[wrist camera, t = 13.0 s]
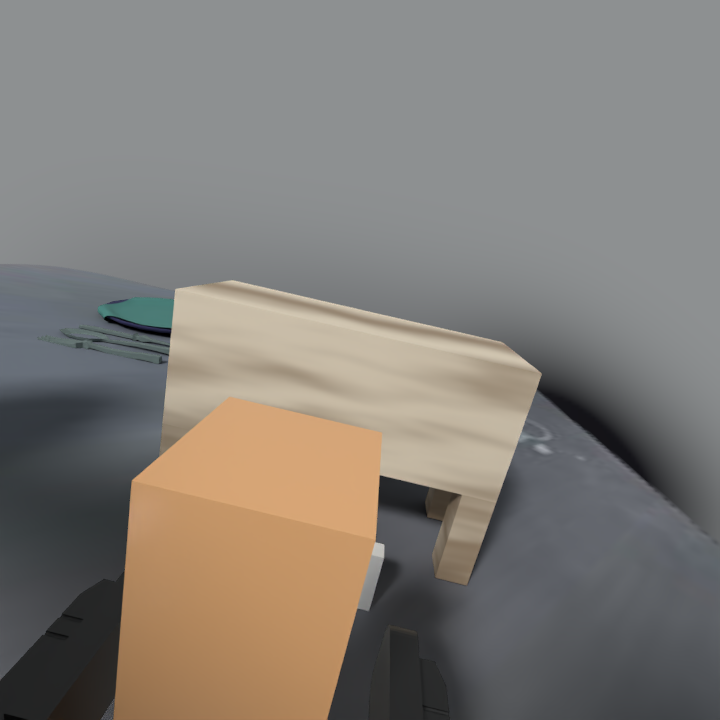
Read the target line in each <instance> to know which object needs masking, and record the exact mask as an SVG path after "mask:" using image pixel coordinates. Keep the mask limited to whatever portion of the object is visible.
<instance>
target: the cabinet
mask: <svg viewBox="0 0 720 720" xmlns="http://www.w3.org/2000/svg"><path fill="white" fill-rule="evenodd" d="M541 375H542V373H540V372H539V371H538V370H537V369H535V368H534V367H533V366H532V365H530V364H529V363H528V362H526V361H525V360H524V359H523V358H521V357H520V356H519V355H518V354H516V353H515V352H514V351H512V350H511V349H510V348H509V347H508V346H506V345H505V344H504V343H503V342H499V341H495V340H490V339H486V338H481V337H477V336H473V335H468V334H464V333H460V332H455V331H451V330H447V329H442V328H438V327H434V326H429V325H425V324H421V323H416V322H412V321H408V320H403V319H399V318H394V317H390V316H386V315H381V314H377V313H373V312H368V311H364V310H360V309H355V308H351V307H346V306H342V305H338V304H333V303H329V302H324V301H320V300H316V299H312V298H307V297H303V296H299V295H294V294H289V293H286V292H281V291H277V290H273V289H268V288H264V287H260V286H255V285H251V284H247V283H242V282H238V281H234V280H231V281H224V282H219V283H212V284H206V285H198V286H192V287H186V288H179V289H176V290H175V299H174V310H173V320H172V330H171V341H170V351H169V362H168V372H167V383H166V393H165V403H164V414H163V424H162V435H161V445H160V456H161V455H162V454H163V453H165V452H166V451H167V450H168V449H169V448H170V447H172V446H173V445H174V444H175V443H176V442H177V441H178V440H180V439H181V438H182V437H183V436H184V435H185V434H187V433H188V432H189V431H190V430H191V429H192V428H194V427H195V426H196V425H197V424H198V423H199V422H201V421H202V420H203V419H204V418H205V417H206V416H207V415H209V414H210V413H211V412H212V411H213V410H214V409H216V408H217V407H218V406H219V405H220V404H221V403H223V402H224V401H225V400H226V399H227V398H228V397H233V398H238V399H242V400H246V401H250V402H255V403H259V404H263V405H267V406H272V407H276V408H280V409H284V410H288V411H293V412H297V413H301V414H305V415H310V416H314V417H318V418H322V419H327V420H331V421H335V422H339V423H343V424H348V425H352V426H356V427H360V428H365V429H369V430H373V431H377V432H382V444H381V461H380V475H381V476H386V477H390V478H394V479H398V480H402V481H407V482H411V483H415V484H419V485H423V486H428V487H429V491H428V494H427V497H426V501H425V504H426V512H427V517H428V518H433V519H437V520H441V521H443V522H442V525H441V528H440V531H439V535H438V538H437V541H436V544H435V547H434V550H433V553H432V558H433V565H434V573H435V578H438V579H442V580H446V581H450V582H454V583H458V584H463V585H467V584H468V581H469V578H470V575H471V572H472V570H473V567H474V564H475V561H476V558H477V555H478V553H479V550H480V547H481V544H482V541H483V538H484V536H485V533H486V530H487V527H488V524H489V522H490V519H491V516H492V513H493V510H494V507H495V505H496V502H497V499H498V496H499V493H500V491H501V488H502V485H503V482H504V479H505V476H506V474H507V471H508V468H509V465H510V462H511V459H512V457H513V454H514V451H515V448H516V445H517V443H518V440H519V437H520V434H521V431H522V428H523V426H524V423H525V420H526V417H527V414H528V411H529V409H530V406H531V403H532V400H533V397H534V395H535V392H536V389H537V386H538V383H539V380H540V378H541ZM160 456H159V457H160Z"/></svg>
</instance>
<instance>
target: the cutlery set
mask: <svg viewBox="0 0 720 720" xmlns="http://www.w3.org/2000/svg"><path fill="white" fill-rule="evenodd" d="M173 310H174V300H172V299H163V298H149V297H146V298H140V297H134V298H132V299H127V300H120V301H113V302H110V303H107V304H104V305H101V306H99V307H98V312H99V314H100V315H101V316H102V317H103V318H104V320H106V321H109V320H114V321H116V322H119V323H121V324H123V325H127V326H130V327H134V328H138V329H142V330H148V331H154V332H160V333H171V330H172V320H173ZM105 316H106V317H105ZM107 317H108V318H107ZM79 328H83V329H87V330H83V329H69V328H65V329H61V330H60V331H61V332H63V333H64V334H65V335H66V336H68V337H70V338H74V339H77V340H74V339H64V338H56V337H52V336H48V335H46V336H45V337H44V336H42V337H41V338H40V337H38V338H37V339H39V340H43V341H47V342H52V343H56V344H60V345H64V346H68V347H72V348H85V349H89V348H92V349H96V350H99V351H102V352H105V353H109V354H114V355H118V356H123V357H127V358H133V359H140V360H145V361H149V362H153V363H156V364H159V363H161V362H162V356H160V355H153V354H147V353H140V352H130V351H123V350H117V349H112V348H109V347H105V346H102V345H98V344H93V342H100V341H103V342H109V343H117V344H123V345H128V346H136V347H141V348H145V349H150V350H154V351H159V352H162V353H166V354H169V351H170V348H168V347H162V346H156V345H150V344H144V343H137V342H127V341H120V340H109V338H108V337H107V336H106V335H104V334H102V333H106V334H111V335H116V336H121V337H125V338H130V339H133V341H135V340H139V341H141V342H155V343H159V344H164V345H169V346H170V344H169V343H166V342H162V341H158V340H154V339H151V338H149V337H148V336H139V335H138V333H136V334H134V335H130V334H126V333H122V332H118V331H114V330H109V329H104V328H99V327H94V326H88V325H79ZM89 330H92V331H89ZM95 331H97V332H95ZM98 332H102V333H98ZM71 333H77V334H87V335H93V336H96V337H100V338H101V339H89V338H82V337H76V336H72V335H69V334H71ZM47 339H48V340H47ZM80 340H83V341H80Z"/></svg>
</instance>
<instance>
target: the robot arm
mask: <svg viewBox="0 0 720 720" xmlns="http://www.w3.org/2000/svg"><path fill="white" fill-rule="evenodd" d="M124 576H125V571H124V572H123V574H122V575H121V576H120V577H119V578H118V580H117V581H116V582H114V581H110V580H106V579H103V580H102V581H100V582H98V583H97V584H95V585H94V586H92V587H91V588H89V589H87V590H86V591H84V592H83V593H81V594H80V595H79V596H78V597H77V598H76V599H75V600H74V601H73V603H72V604H71V605H70V606H69V607H68V608H67V609H66V610H65V611H64V612H63V613H62V616H61V617H60V618H58V619H57V620H56V621H55V622H54V623H53V624H52V625H51V626H50V627H49V628H48V630H47V631H46V633H45V635H42V636H41V637H40V638H39V639H38V640H37V641H36V643H35V644H34V645H33V646H32V647H31V648H30V649H29V650H28V651H27V652H26V653H25V654H24V656H23V657H22V658H21V659H20V660H19V661H18V662H17V663H16V664H15V665H14V666H13V667H12V669H11V670H10V671H9V672H8V673H7V674H6V675H5V676H4V677H3V678H2V679H1V680H0V720H100V719H101V718H102V716H103V715H104V713H105V712H106V710H107V708H108V707H109V705H110V704H111V702H112V700H113V699H114V697H115V692H116V679H117V666H118V653H119V640H120V627H121V615H122V602H123V589H124ZM368 720H450V717H449V706H448V698H447V690H446V685H445V683H444V680H443V678H442V676H441V674H440V672H439V670H438V667H437V665H436V663H435V662H434V661H429V660H425V659H421V658H419V645H418V635H417V632H416V631H413V630H409V629H405V628H401V627H397V626H393V625H389V624H388V625H387V627H386V630H385V633H384V637H383V640H382V643H381V647H380V650H379V654H378V657H377V660H376V664H375V667H374V671H373V676H372V682H371V689H370V700H369V719H368Z"/></svg>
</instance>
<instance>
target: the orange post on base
mask: <svg viewBox="0 0 720 720" xmlns="http://www.w3.org/2000/svg"><path fill="white" fill-rule="evenodd" d="M381 444H382V432H377V431H373V430H369V429H365V428H360V427H356V426H352V425H348V424H343V423H339V422H335V421H331V420H327V419H322V418H318V417H314V416H310V415H305V414H301V413H297V412H293V411H288V410H284V409H280V408H276V407H272V406H267V405H263V404H259V403H255V402H250V401H246V400H242V399H238V398H233V397H228V398H227V399H226V400H225V401H224V402H223V403H221V404H220V405H219V406H218V407H217V408H216V409H214V410H213V411H212V412H211V413H210V414H209V415H207V416H206V417H205V418H204V419H203V420H202V421H201V422H199V423H198V424H197V425H196V426H195V427H194V428H192V429H191V430H190V431H189V432H188V433H187V434H185V435H184V436H183V437H182V438H181V439H180V440H178V441H177V442H176V443H175V444H174V445H173V446H172V447H170V448H169V449H168V450H167V451H166V452H165V453H163V454H162V455H161V456H160V457H159V458H158V459H156V460H155V461H154V462H153V463H152V464H151V465H149V466H148V467H147V468H146V469H145V470H144V471H142V472H141V473H140V474H139V475H138V476H137V477H136V478H134V479H133V480H132V485H131V498H130V511H129V524H128V537H127V550H126V563H125V576H124V589H123V602H122V615H121V627H120V640H119V653H118V666H117V679H116V692H115V705H114V718H113V720H327V718H328V714H329V710H330V707H331V703H332V699H333V696H334V692H335V688H336V685H337V681H338V677H339V673H340V670H341V666H342V662H343V659H344V655H345V651H346V648H347V644H348V640H349V636H350V633H351V629H352V625H353V622H354V618H355V614H356V611H357V608H358V609H362V610H366V611H369V609H370V606H371V602H372V599H373V595H374V592H375V588H376V585H377V581H378V577H379V574H380V570H381V567H382V563H383V560H384V544H380V543H376V542H375V540H376V526H377V510H378V494H379V477H380V461H381Z"/></svg>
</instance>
